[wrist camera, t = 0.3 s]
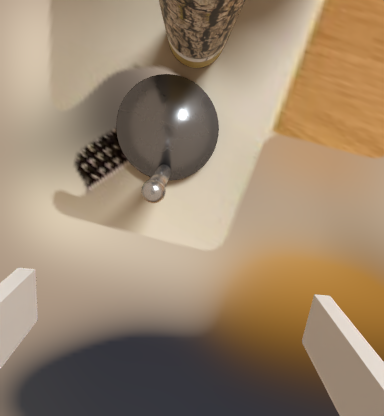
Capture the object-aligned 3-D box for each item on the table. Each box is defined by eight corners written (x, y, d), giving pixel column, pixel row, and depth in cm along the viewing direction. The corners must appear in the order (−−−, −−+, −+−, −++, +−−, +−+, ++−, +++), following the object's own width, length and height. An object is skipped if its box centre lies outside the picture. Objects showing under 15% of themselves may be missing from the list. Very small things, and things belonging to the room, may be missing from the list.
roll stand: (120, 69, 36) (78, 34, 22) (224, 82, 37) (246, 55, 23) (116, 173, 40) (77, 199, 26) (211, 183, 40) (223, 213, 26)
